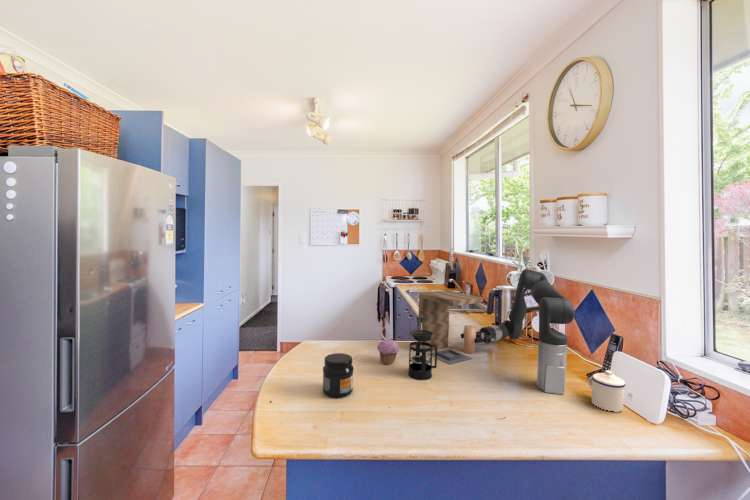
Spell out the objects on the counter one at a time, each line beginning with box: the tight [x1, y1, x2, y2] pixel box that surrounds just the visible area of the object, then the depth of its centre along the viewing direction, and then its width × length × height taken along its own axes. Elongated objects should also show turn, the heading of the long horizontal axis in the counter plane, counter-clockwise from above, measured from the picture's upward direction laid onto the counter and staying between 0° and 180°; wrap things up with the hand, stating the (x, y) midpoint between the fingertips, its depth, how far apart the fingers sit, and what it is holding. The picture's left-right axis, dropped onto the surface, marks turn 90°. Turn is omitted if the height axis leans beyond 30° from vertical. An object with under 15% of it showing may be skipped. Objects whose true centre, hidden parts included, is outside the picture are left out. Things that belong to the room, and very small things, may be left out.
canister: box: [462, 324, 477, 355], centre depth 160 cm, size 6×6×12 cm
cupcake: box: [377, 339, 399, 366], centre depth 144 cm, size 9×9×10 cm
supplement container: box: [322, 352, 355, 399], centre depth 116 cm, size 10×10×12 cm
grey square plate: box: [427, 348, 473, 365], centre depth 153 cm, size 14×14×2 cm
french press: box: [407, 316, 438, 381], centre depth 132 cm, size 12×9×23 cm
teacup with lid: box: [587, 369, 626, 413], centre depth 112 cm, size 12×9×12 cm
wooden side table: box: [417, 290, 484, 354], centre depth 153 cm, size 18×22×28 cm
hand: (468, 338), depth 159 cm, fingers open, 8 cm apart
